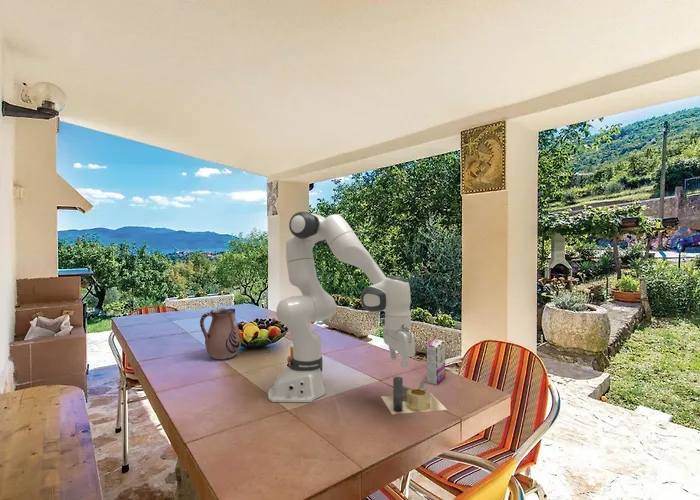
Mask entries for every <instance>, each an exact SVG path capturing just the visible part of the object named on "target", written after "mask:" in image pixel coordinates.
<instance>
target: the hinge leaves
mask: <svg viewBox="0 0 700 500" xmlns="http://www.w3.org/2000/svg"><path fill="white" fill-rule="evenodd" d="M430 393H431V392H430V391H428V389H426V388H425V382H424V381H421V382H420V384H419V386H418V387H408V386H406V385H403V401H405V402H407V406H408V408H409V409H412V410H415V411H426V410H428V409H429V408H430Z"/></svg>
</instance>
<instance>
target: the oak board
mask: <svg viewBox="0 0 700 500" xmlns="http://www.w3.org/2000/svg"><path fill="white" fill-rule="evenodd" d="M429 393H430V408H429V409H428V410H426V411H415V410H412V409H409V408H408V406H407V402H405V401H403V410H402V411H401V412H396V411H394V410H393V394H392V395H381V396H380V398H381V399H382V400H383V403H384V404H385V405H386V407H387V409H388V410H389V412H390V414H391V415H401V414H412V413H414V414H416V413H423V412H424V413H425V412H426V413H427V412H439V411H448V408H446V407H445V405H444V404H443V403H441V402H440V400H439V399H438V398H436V396H434V394H433V393H431V392H429Z"/></svg>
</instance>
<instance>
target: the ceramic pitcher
mask: <svg viewBox="0 0 700 500" xmlns="http://www.w3.org/2000/svg"><path fill="white" fill-rule="evenodd" d="M207 317H211V318H212V320H211V322H210V325H209V329H208V332H207V331H206V328H205V323H204V321H205V320H206V318H207ZM199 326H200V328H201V329H200V330H201V332H202V334H203V336H204V339H205V340H204V345H205V348H206V352H207V353H208V355H209V356H210V357H211V358H213V359H215V360H218V359H221V360H228V359H232V358H233V357H234V356H235V355H237V354H238V352H239V351H240V348H241V347H242V346H241V344H242V338H241V333H240V328H239V326H238V321H237V319H236V308H229V309H227V308H224V307H222V308H215V309H212V310H210V311H209V312H204V313H203V314H202V315H201V317H200V320H199ZM227 358H228V359H227Z"/></svg>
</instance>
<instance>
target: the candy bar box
mask: <svg viewBox="0 0 700 500" xmlns="http://www.w3.org/2000/svg"><path fill="white" fill-rule="evenodd" d="M445 378H446V341H445V340H441V339H434V340H433V341H431V342H430V343H428V344H427V345H426V383H427V384H430V385H434V386H435V385H436V386H438V385H439V384H440V383H441V382H442V381H443V380H444V379H445Z"/></svg>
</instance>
